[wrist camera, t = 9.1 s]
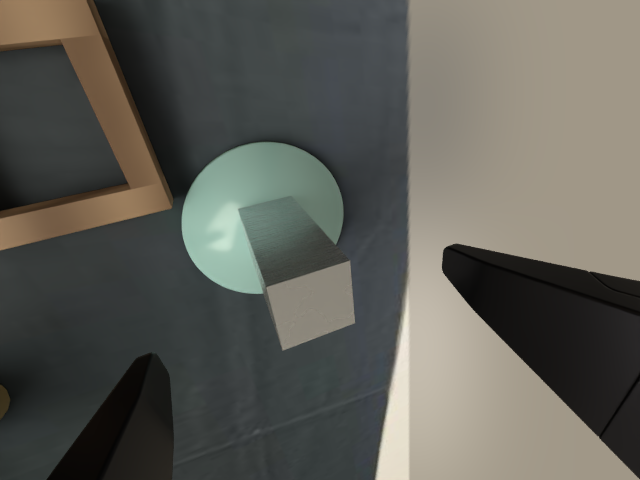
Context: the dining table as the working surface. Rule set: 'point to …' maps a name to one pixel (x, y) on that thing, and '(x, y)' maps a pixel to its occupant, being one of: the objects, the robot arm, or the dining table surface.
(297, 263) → the steel bar
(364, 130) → the dining table surface
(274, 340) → the dining table surface
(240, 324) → the dining table surface
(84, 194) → the walnut collar
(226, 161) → the teal coaster
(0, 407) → the wooden pepper shaker
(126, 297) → the dining table surface
